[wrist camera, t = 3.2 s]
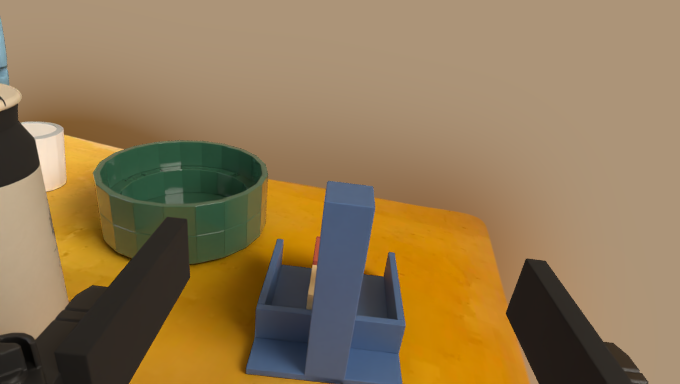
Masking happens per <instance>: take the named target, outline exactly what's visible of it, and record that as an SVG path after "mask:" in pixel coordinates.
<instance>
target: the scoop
mask: <svg viewBox="0 0 680 384" xmlns="http://www.w3.org/2000/svg"><path fill="white" fill-rule="evenodd" d="M374 212H375V201H374V190H373V186H366V185H357V184H349V183H341V182H333V181H328V182H327V188H326V195H325V202H324V210H323V219H322V228H321V236H320V245H319V253H318V262H317V270H316V279H315V287H314V296H313V304H312V310H308V309H306V306H307V297H308V290H309V284H310V277H311V270H312V268H306V267H297V266H288V265H282V253H283V240H282V239H277V242H276V245H275V249H274V252H273V255H272V258H271V261H270V265H269V268H268V271H267V274H266V278H265V281H264V284H263V287H262V290H261V294H260V297H259V300H258V304H257V307H256V318H255V338H254V342H253V345H252V349H251V352H250V356H249V359H248V363H247V366H246V374H253V375H262V376H271V377H280V378H289V379H298V380H307V381H316V382H325V383H334V384H402V378H401V370H400V362H399V354H398V353H399V350H400V346H401V342H402V338H403V334H404V330H405V319H404V312H403V306H402V299H401V293H400V286H399V279H398V273H397V266H396V260H395V253H392V252H389V253H388V258H387V263H386V267H385V272H384V277H382V276H374V275H365V274H364V268H365V262H366V257H367V251H368V246H369V240H370V234H371V229H372V223H373V218H374Z"/></svg>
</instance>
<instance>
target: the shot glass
mask: <svg viewBox="0 0 680 384" xmlns="http://www.w3.org/2000/svg"><path fill="white" fill-rule="evenodd" d="M21 124H22V125H23V126H24V127H25V129H26V130H27V131H28V132H29V133H30V134H31V135H32V136H33V137H34V139H35V141H36V146H37V151H38V156H39V161H40V165H41V170H42V175H43V180H44V185H45V190H46V192H47V191H52V190H55V189H57V188H60V187H62V186H63V185H64V184H65V183H66V180H67V178H66V162H65V146H64V131H63V127H61V126H60V125H58V124H54V123H48V122H21Z"/></svg>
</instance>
